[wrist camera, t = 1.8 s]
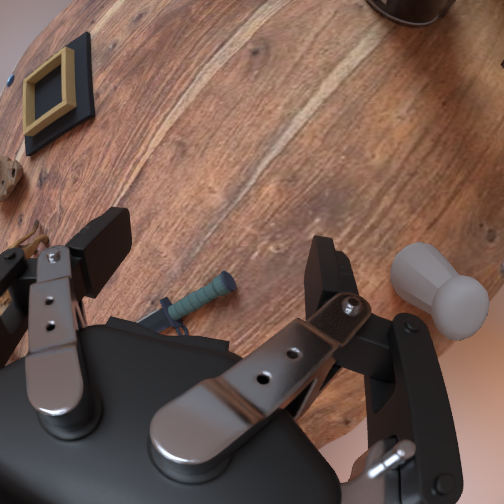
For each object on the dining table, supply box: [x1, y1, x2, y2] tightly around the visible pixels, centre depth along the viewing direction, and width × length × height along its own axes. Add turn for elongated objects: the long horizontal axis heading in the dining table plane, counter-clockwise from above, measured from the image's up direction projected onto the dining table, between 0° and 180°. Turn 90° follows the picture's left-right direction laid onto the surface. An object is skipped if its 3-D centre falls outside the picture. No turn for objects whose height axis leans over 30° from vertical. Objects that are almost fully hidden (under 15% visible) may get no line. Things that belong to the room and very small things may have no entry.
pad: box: [23, 32, 95, 156], centre depth 30 cm, size 14×14×3 cm
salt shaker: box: [390, 242, 489, 341], centre depth 21 cm, size 6×6×13 cm
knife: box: [136, 271, 236, 336], centre depth 34 cm, size 23×2×5 cm
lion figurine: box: [0, 220, 48, 316], centre depth 33 cm, size 15×5×9 cm, turn 168°
